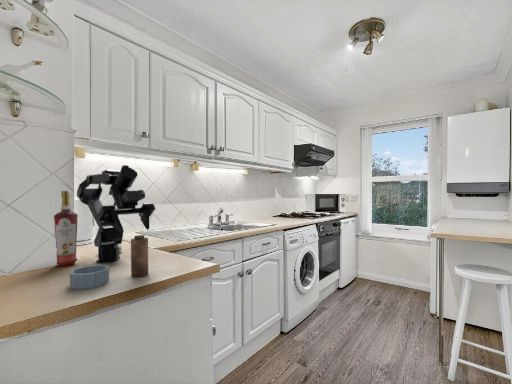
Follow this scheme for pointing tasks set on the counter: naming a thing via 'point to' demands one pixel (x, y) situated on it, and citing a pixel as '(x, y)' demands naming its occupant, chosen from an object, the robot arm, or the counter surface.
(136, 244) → the pepper mill
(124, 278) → the counter surface
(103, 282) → the blue segmented ring
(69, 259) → the liquor
